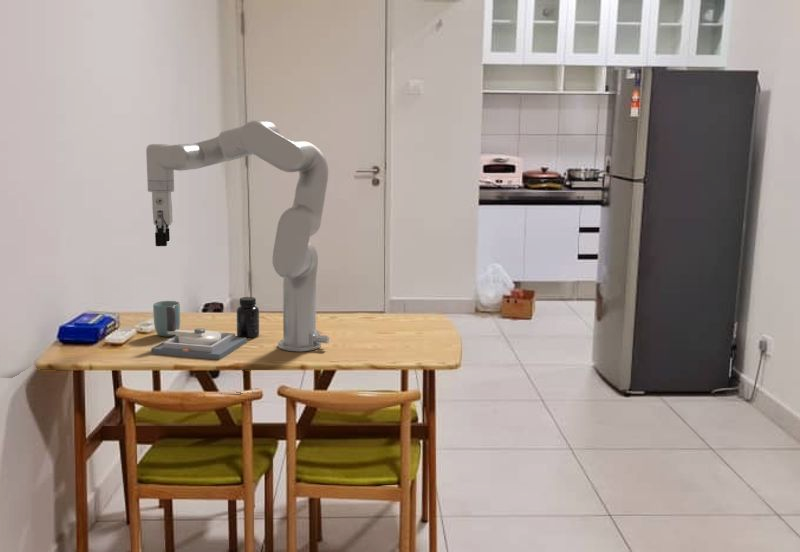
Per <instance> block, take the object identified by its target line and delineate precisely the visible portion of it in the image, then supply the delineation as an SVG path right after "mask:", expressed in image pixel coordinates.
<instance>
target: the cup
mask: <svg viewBox="0 0 800 552" xmlns="http://www.w3.org/2000/svg"><path fill="white" fill-rule="evenodd" d="M167 306H175V310H176V329H177V330H180V328H181V304H180V302H179V301H176V300H175V301H174V300H162V301H161V300H159V301H157V302H155V303H153V307H152V309H153V311H152V313H153V324H154V325H153V326H154V329H155V332H156V335H158V336H160V337H175V335H173V334H167V318H166V307H167Z"/></svg>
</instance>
